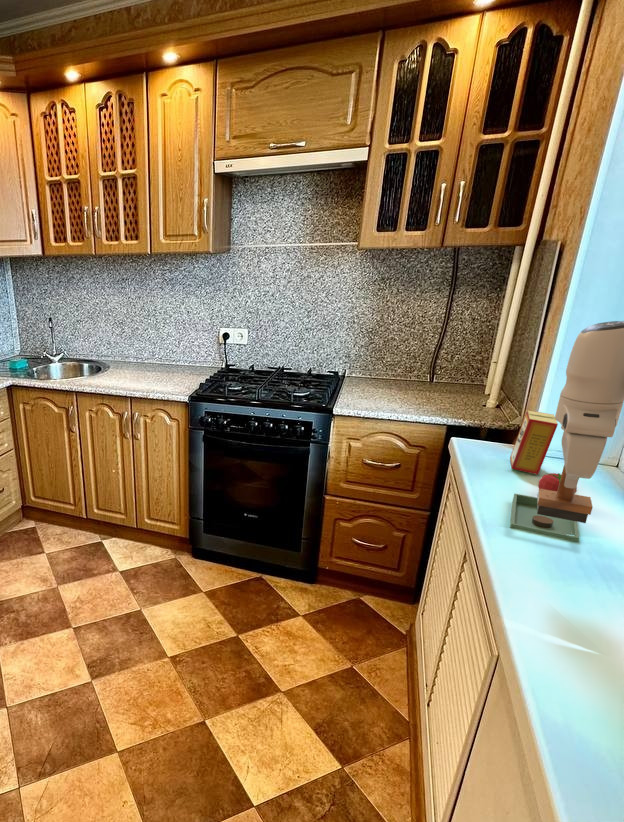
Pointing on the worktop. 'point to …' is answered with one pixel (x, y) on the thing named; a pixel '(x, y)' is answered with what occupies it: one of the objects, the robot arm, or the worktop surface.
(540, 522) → the brown disc
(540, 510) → the brush
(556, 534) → the tray
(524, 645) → the worktop surface
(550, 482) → the tomato
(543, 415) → the baking soda box
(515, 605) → the worktop surface
